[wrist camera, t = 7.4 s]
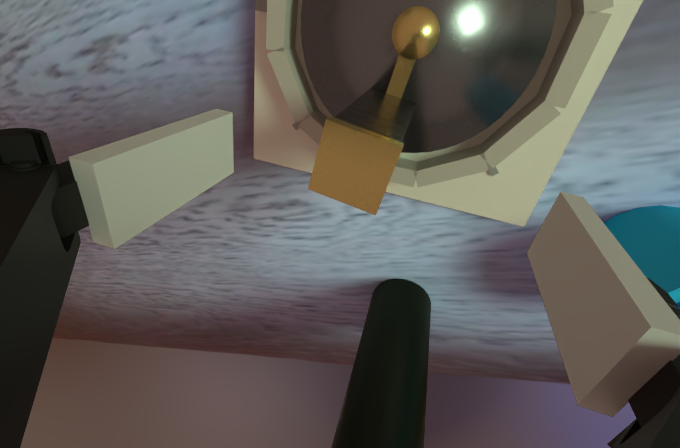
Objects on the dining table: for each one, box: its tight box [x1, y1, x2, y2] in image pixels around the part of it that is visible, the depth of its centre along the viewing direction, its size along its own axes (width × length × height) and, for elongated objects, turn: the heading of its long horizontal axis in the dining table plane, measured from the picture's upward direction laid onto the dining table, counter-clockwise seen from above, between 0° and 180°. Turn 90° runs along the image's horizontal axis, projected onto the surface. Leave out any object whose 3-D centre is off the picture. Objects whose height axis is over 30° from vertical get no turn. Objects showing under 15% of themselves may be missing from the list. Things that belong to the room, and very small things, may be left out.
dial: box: [301, 0, 557, 215], centre depth 16 cm, size 14×14×11 cm
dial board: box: [254, 0, 643, 227], centre depth 21 cm, size 22×22×4 cm
